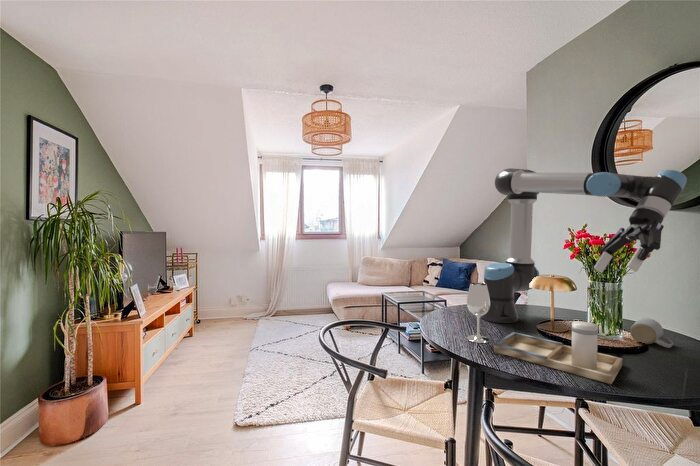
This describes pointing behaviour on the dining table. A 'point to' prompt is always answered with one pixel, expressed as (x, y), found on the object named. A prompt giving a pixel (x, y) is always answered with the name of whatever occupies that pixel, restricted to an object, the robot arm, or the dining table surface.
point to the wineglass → (478, 307)
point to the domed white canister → (584, 344)
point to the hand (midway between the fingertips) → (613, 269)
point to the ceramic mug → (649, 332)
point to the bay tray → (556, 356)
